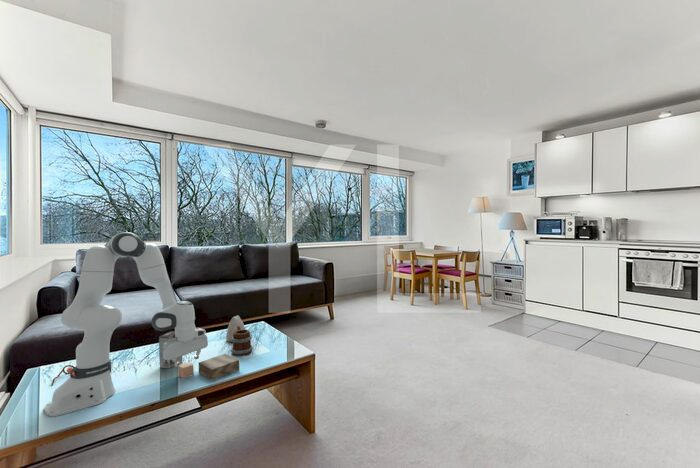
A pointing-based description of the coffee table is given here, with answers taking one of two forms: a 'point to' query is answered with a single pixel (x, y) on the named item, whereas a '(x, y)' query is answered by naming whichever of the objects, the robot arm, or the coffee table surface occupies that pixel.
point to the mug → (241, 342)
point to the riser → (218, 366)
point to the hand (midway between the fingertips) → (187, 362)
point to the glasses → (61, 372)
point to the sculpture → (234, 327)
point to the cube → (185, 370)
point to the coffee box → (163, 339)
